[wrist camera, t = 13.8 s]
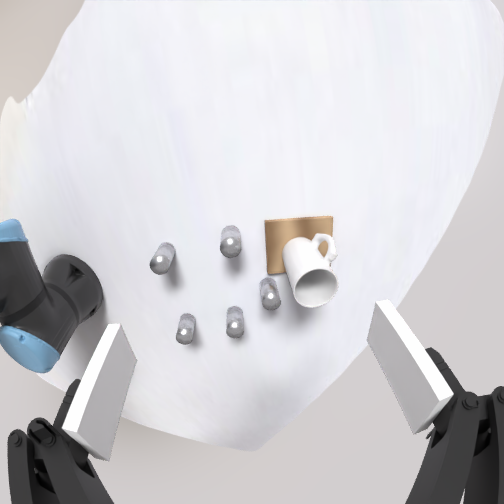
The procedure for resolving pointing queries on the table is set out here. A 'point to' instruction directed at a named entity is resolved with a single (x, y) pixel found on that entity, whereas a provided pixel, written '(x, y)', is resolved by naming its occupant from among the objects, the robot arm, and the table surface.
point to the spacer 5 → (269, 294)
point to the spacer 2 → (185, 329)
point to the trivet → (289, 229)
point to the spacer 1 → (162, 258)
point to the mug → (311, 270)
